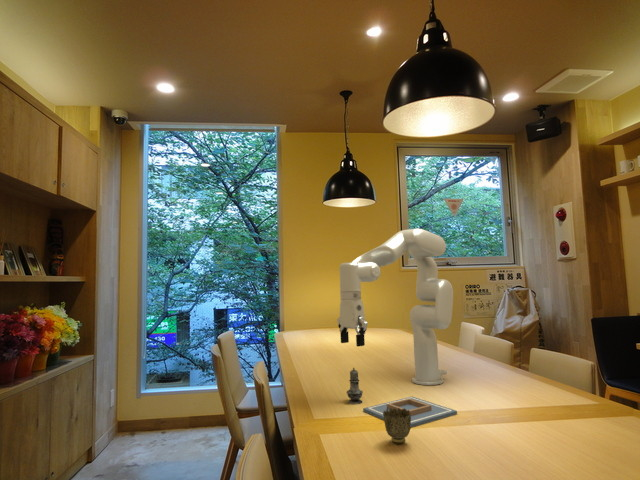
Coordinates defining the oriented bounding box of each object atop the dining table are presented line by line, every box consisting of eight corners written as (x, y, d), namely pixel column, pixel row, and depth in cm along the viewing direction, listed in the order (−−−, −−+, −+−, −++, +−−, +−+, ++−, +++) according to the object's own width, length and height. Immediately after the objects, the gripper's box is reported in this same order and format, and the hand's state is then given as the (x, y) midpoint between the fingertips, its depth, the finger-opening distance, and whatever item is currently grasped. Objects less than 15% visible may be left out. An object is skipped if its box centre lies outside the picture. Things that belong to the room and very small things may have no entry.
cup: (381, 438, 112) (380, 408, 113) (407, 436, 113) (406, 406, 114) (388, 449, 105) (386, 417, 106) (416, 447, 106) (414, 415, 106)
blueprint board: (412, 399, 147) (411, 392, 147) (457, 414, 130) (456, 405, 130) (363, 411, 135) (362, 403, 135) (405, 429, 118) (404, 420, 118)
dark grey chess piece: (362, 404, 142) (361, 369, 143) (345, 404, 143) (344, 369, 145) (364, 399, 148) (362, 365, 149) (348, 399, 149) (346, 365, 150)
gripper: (373, 296, 144) (375, 346, 142) (345, 295, 158) (347, 340, 157) (356, 297, 140) (358, 348, 138) (329, 296, 155) (330, 342, 153)
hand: (352, 344), depth 148 cm, fingers open, 9 cm apart
